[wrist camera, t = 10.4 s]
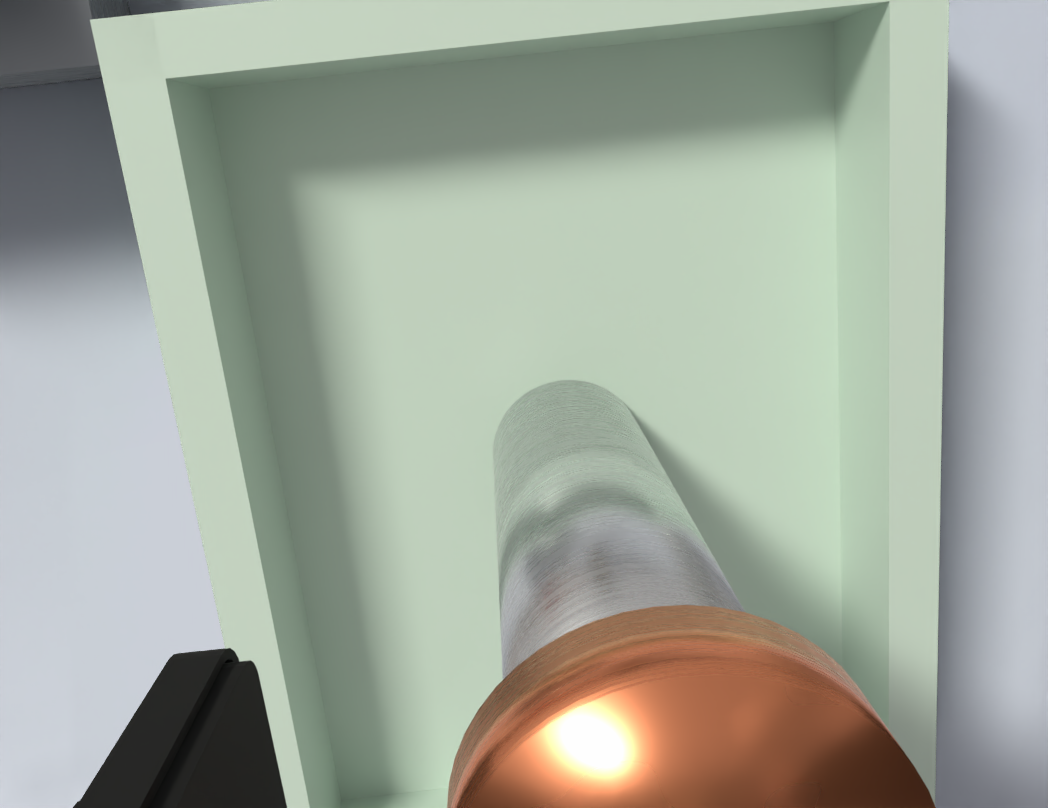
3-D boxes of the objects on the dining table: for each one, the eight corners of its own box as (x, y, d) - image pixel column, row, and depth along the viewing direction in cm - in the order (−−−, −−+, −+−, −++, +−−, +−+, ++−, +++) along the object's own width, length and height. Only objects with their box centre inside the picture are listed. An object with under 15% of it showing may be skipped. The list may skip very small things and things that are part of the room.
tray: (863, -31, 18) (950, -72, 15) (867, 744, 23) (934, 844, 20) (161, 43, 18) (90, 19, 15) (313, 812, 23) (285, 926, 20)
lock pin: (663, 340, 19) (951, 645, 7) (675, 534, 20) (941, 1061, 9) (452, 364, 19) (408, 710, 7) (477, 558, 20) (474, 1121, 9)
